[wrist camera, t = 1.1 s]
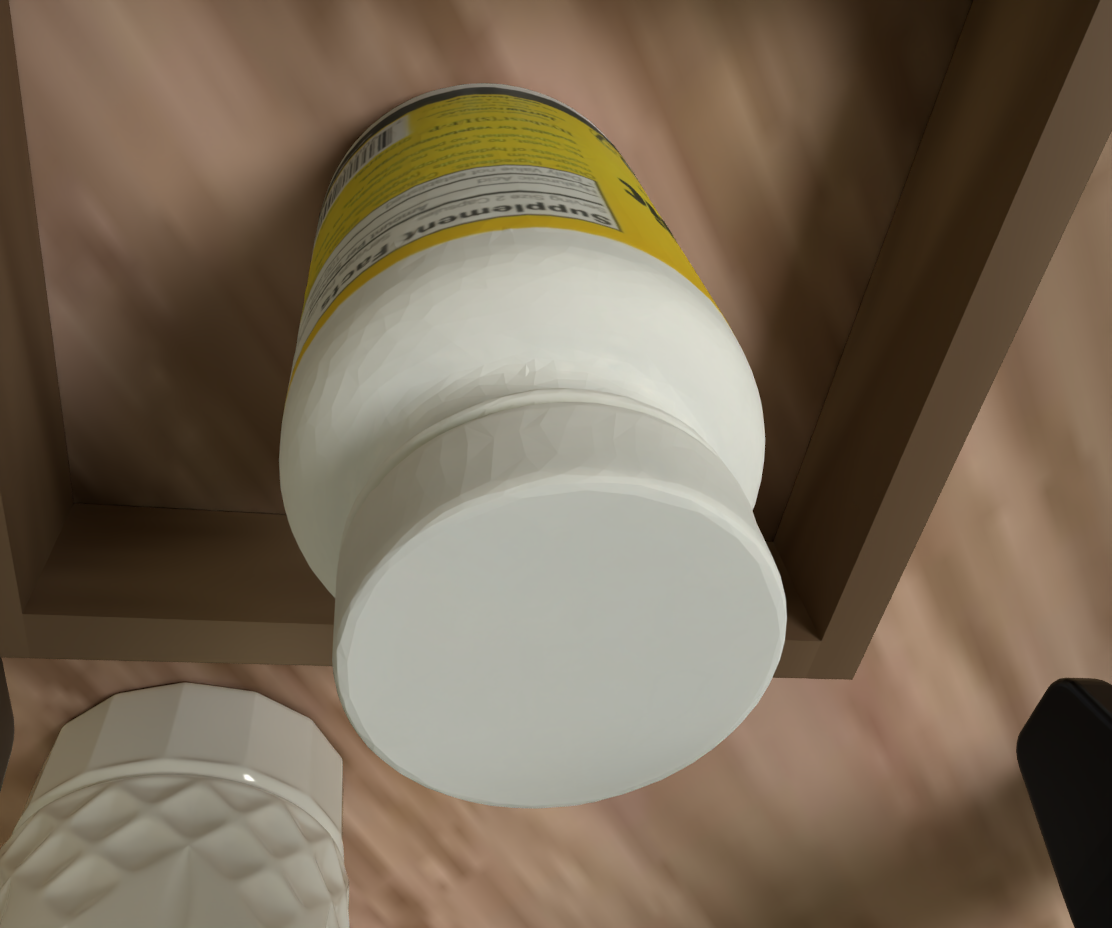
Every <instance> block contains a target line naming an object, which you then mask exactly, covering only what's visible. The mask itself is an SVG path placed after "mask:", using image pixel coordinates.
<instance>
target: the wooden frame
mask: <svg viewBox="0 0 1112 928" xmlns="http://www.w3.org/2000/svg"><path fill="white" fill-rule="evenodd" d="M1111 131H1112V0H973V2H972V5H971V7H970V10H969V13H968V16H967V18H966V21H965V24H964V26H963V29H962V32H961V35H960V37H959V40H958V43H957V45H956V48H955V51H954V54H953V56H952V59H951V62H950V64H949V67H948V70H947V72H946V75H945V78H944V81H943V83H942V86H941V89H940V91H939V94H938V97H937V100H936V102H935V105H934V108H933V110H932V113H931V116H930V119H929V121H928V124H927V127H926V129H925V132H924V135H923V138H922V140H921V143H920V146H919V148H918V151H917V154H916V156H915V159H914V162H913V165H912V167H911V170H910V173H909V175H908V178H907V181H906V184H905V186H904V189H903V192H902V194H901V197H900V200H899V203H898V205H897V208H896V211H895V213H894V216H893V219H892V221H891V224H890V227H889V230H888V232H887V235H886V238H885V240H884V243H883V246H882V249H881V251H880V254H879V257H878V259H877V262H876V265H875V268H874V270H873V273H872V276H871V278H870V281H869V284H868V286H867V289H866V292H865V295H864V297H863V300H862V303H861V305H860V308H859V311H858V314H857V316H856V319H855V322H854V324H853V327H852V330H851V333H850V335H849V338H848V341H847V343H846V346H845V349H844V352H843V354H842V357H841V360H840V362H839V365H838V368H837V370H836V373H835V376H834V379H833V381H832V384H831V387H830V389H829V392H828V395H827V398H826V400H825V403H824V406H823V408H822V411H821V414H820V417H819V419H818V422H817V425H816V427H815V430H814V433H813V435H812V438H811V441H810V444H809V446H808V449H807V452H806V454H805V457H804V460H803V463H802V465H801V468H800V471H799V473H798V476H797V479H796V482H795V484H794V487H793V490H792V492H791V495H790V498H789V501H788V503H787V506H786V509H785V511H784V514H783V517H782V519H781V522H780V525H779V528H778V530H777V533H776V536H775V538H774V541H773V542H767V541H765V542H766V544H767V546H768V549H769V551H770V553H771V555H772V557H773V559H774V562H775V564H776V566H777V569H778V571H779V573H780V576H781V580H782V584H783V589H784V593H785V598H786V612H787V622H786V634H785V642H784V646H783V650H782V654H781V658H780V661H779V663H778V665H777V668H776V670H775V673H774V675H773V678H811V679H850V680H852V679H853V677H854V675H855V673H856V671H857V669H858V667H859V664H860V662H861V660H862V658H863V656H864V654H865V652H866V650H867V647H868V645H869V643H870V641H871V639H872V637H873V635H874V633H875V631H876V628H877V626H878V624H879V622H880V620H881V618H882V616H883V614H884V612H885V609H886V607H887V605H888V603H889V601H890V599H891V597H892V595H893V592H894V590H895V588H896V586H897V584H898V582H899V580H900V578H901V576H902V573H903V571H904V569H905V567H906V565H907V563H908V561H909V559H910V557H911V554H912V552H913V550H914V548H915V546H916V544H917V542H918V540H919V537H920V535H921V533H922V531H923V529H924V527H925V525H926V523H927V521H928V518H929V516H930V514H931V512H932V510H933V508H934V506H935V504H936V502H937V499H938V497H939V495H940V493H941V491H942V489H943V487H944V485H945V482H946V480H947V478H948V476H949V474H950V472H951V470H952V468H953V466H954V463H955V461H956V459H957V457H958V455H959V453H960V451H961V449H962V447H963V444H964V442H965V440H966V438H967V436H968V434H969V432H970V430H971V427H972V425H973V423H974V421H975V419H976V417H977V415H978V413H979V411H980V408H981V406H982V404H983V402H984V400H985V398H986V396H987V394H988V392H989V389H990V387H991V385H992V383H993V381H994V379H995V377H996V375H997V372H998V370H999V368H1000V366H1001V364H1002V362H1003V360H1004V358H1005V356H1006V353H1007V351H1008V349H1009V347H1010V345H1011V343H1012V341H1013V339H1014V337H1015V334H1016V332H1017V330H1018V328H1019V326H1020V324H1021V322H1022V320H1023V317H1024V315H1025V313H1026V311H1027V309H1028V307H1029V305H1030V303H1031V301H1032V298H1033V296H1034V294H1035V292H1036V290H1037V288H1038V286H1039V284H1040V282H1041V279H1042V277H1043V275H1044V273H1045V271H1046V269H1047V267H1048V265H1049V262H1050V260H1051V258H1052V256H1053V254H1054V252H1055V250H1056V248H1057V246H1058V243H1059V241H1060V239H1061V237H1062V235H1063V233H1064V231H1065V229H1066V227H1067V224H1068V222H1069V220H1070V218H1071V216H1072V214H1073V212H1074V210H1075V207H1076V205H1077V203H1078V201H1079V199H1080V197H1081V195H1082V193H1083V191H1084V188H1085V186H1086V184H1087V182H1088V180H1089V178H1090V176H1091V174H1092V172H1093V169H1094V167H1095V165H1096V163H1097V161H1098V159H1099V157H1100V155H1101V152H1102V150H1103V148H1104V146H1105V144H1106V142H1107V140H1108V138H1109V136H1110V133H1111ZM334 613H335V598H334V597H333V595H332V594H331V593H330V592H329V591H328V590H327V589H326V587H325V586H324V585H323V584H322V582H321V581H320V580H319V578H318V577H317V576H316V575H315V573H314V572H313V571H312V569H311V568H310V566H309V565H308V563H307V561H306V559H305V557H304V555H303V554H302V552H301V550H300V548H299V546H298V544H297V542H296V539H295V537H294V535H293V533H292V530H291V527H290V525H289V522H288V518H287V515H278V514H260V513H242V512H224V511H206V510H187V509H169V508H151V507H133V506H115V505H97V504H79V503H74V501H73V494H72V486H71V478H70V470H69V463H68V455H67V447H66V440H65V432H64V424H63V416H62V409H61V401H60V393H59V386H58V378H57V370H56V362H55V355H54V347H53V339H52V332H51V324H50V316H49V308H48V301H47V293H46V285H45V277H44V270H43V262H42V254H41V247H40V239H39V231H38V223H37V216H36V208H35V200H34V193H33V185H32V177H31V169H30V162H29V154H28V146H27V139H26V131H25V123H24V115H23V108H22V100H21V92H20V85H19V77H18V69H17V61H16V54H15V46H14V38H13V31H12V23H11V15H10V7H9V0H0V657H6V658H45V659H83V660H121V661H160V662H198V663H236V664H275V665H313V666H333V663H332V652H333V630H334Z"/></svg>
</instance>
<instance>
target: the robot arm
mask: <svg viewBox="0 0 1112 928" xmlns="http://www.w3.org/2000/svg"><path fill="white" fill-rule="evenodd" d="M13 740H14V717H13V712H12V707H11V702H10V697H9V692H8V687H7V682H6V677H5V672H4V668H3V663H2V659H1V657H0V791H1V788H2V784H3V780H4V777H5V773H6V769H7V766H8V762H9V758H10V755H11V750H12V746H13ZM1016 753H1017V760H1018V764H1019V767H1020V770H1021V773H1022V776H1023V779H1024V782H1025V785H1026V788H1027V791H1028V794H1029V797H1030V800H1031V803H1032V806H1033V809H1034V812H1035V815H1036V818H1037V821H1038V824H1039V827H1040V830H1041V833H1042V836H1043V839H1044V842H1045V845H1046V848H1047V851H1048V854H1049V856H1050V859H1051V862H1052V865H1053V868H1054V871H1055V874H1056V877H1057V880H1058V883H1059V886H1060V889H1061V892H1062V895H1063V898H1064V900H1065V903H1066V906H1067V909H1068V912H1069V914H1070V917H1071V920H1072V922H1073V925H1074V927H1075V928H1112V685H1111V684H1109V683H1107V682H1105V681H1103V680H1099V679H1089V678H1061V679H1058V680H1057V681H1055V682H1053V683H1052V684H1051V685H1050V686H1049V688H1048V689H1047V691H1046V692H1045V694H1044V695H1043V697H1042V698H1041V700H1040V702H1039V703H1038V705H1037V706H1036V708H1035V710H1034V711H1033V713H1032V714H1031V716H1030V718H1029V719H1028V721H1027V722H1026V724H1025V726H1024V727H1023V729H1022V730H1021V732H1020V734H1019V736H1018V740H1017V746H1016Z"/></svg>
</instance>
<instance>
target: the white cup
mask: <svg viewBox="0 0 1112 928" xmlns="http://www.w3.org/2000/svg"><path fill="white" fill-rule="evenodd" d="M348 906H349V878H348V875H347V872H346V869H345V866H344V848H343V762H342V758H341V756H340V755H339V754H338V753H337V751H336V750H335V749H334V747H333V746H332V745H331V744H330V742H329V741H328V740H327V738H326V737H325V736H324V735H323V733H322V732H321V731H320V730H319V728H318V727H317V726H316V724H315V723H314V722H313V721H312V720H311V719H310V718H308V717H306V716H304V715H302V714H300V713H298V712H296V711H294V710H292V709H290V708H288V707H286V706H284V705H282V704H280V703H278V702H276V701H274V700H272V699H270V698H268V697H266V696H263V695H261V694H259V693H257V692H254V691H248V690H241V689H234V688H227V687H220V686H212V685H204V684H196V683H189V682H183V683H176V684H170V685H164V686H158V687H152V688H146V689H141V690H135V691H129V692H124V693H118V694H115V695H113V696H112V697H110V698H108V699H107V700H105V701H103V702H102V703H100V704H98V705H97V706H95V707H93V708H92V709H90V710H88V711H87V712H85V713H83V714H82V715H80V716H78V717H77V718H75V719H73V720H72V721H70V722H68V723H67V724H65V725H64V726H63V727H62V729H61V731H60V733H59V735H58V737H57V739H56V741H55V743H54V745H53V747H52V749H51V751H50V752H49V754H48V756H47V758H46V760H45V762H44V764H43V766H42V768H41V770H40V772H39V775H38V777H37V779H36V782H35V784H34V786H33V789H32V791H31V793H30V796H29V798H28V800H27V803H26V805H25V808H24V810H23V812H22V815H21V817H20V819H19V821H18V823H17V824H16V826H15V828H14V830H13V833H12V835H11V837H10V838H9V839H8V840H7V842H6V843H5V844H4V845H3V846H2V847H1V848H0V928H350V925H349V913H348Z"/></svg>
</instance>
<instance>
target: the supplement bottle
mask: <svg viewBox="0 0 1112 928" xmlns="http://www.w3.org/2000/svg"><path fill="white" fill-rule="evenodd" d="M764 453H765V429H764V419H763V411H762V404H761V400H760V396H759V392H758V388H757V385H756V382H755V379H754V376H753V373H752V370H751V368H750V366H749V363H748V361H747V359H746V357H745V354H744V352H743V350H742V348H741V347H740V345H739V343H738V341H737V339H736V337H735V335H734V333H733V331H732V330H731V328H730V326H729V324H728V322H727V321H726V319H725V317H724V316H723V314H722V313H721V311H720V310H719V308H718V307H717V305H716V303H715V302H714V300H713V299H712V297H711V296H710V294H709V293H708V291H707V289H706V288H705V286H704V285H703V283H702V282H701V280H700V278H699V277H698V275H697V274H696V272H695V270H694V269H693V267H692V266H691V264H690V262H689V261H688V259H687V258H686V256H685V255H684V253H683V251H682V250H681V248H680V247H679V245H678V244H677V242H676V240H675V239H674V237H673V235H672V233H671V232H670V230H669V229H668V227H667V225H666V224H665V222H664V221H663V220H662V218H661V217H660V215H659V214H658V212H657V210H656V209H655V207H654V206H653V204H652V203H651V201H650V199H649V198H648V196H647V194H646V193H645V191H644V189H643V188H642V186H641V184H640V183H639V181H638V179H637V178H636V176H635V174H634V173H633V171H632V170H631V168H630V167H629V166H628V164H627V163H626V161H625V160H624V158H623V157H622V156H621V154H620V153H619V152H618V150H617V149H616V148H615V146H614V145H613V144H612V143H611V142H610V141H609V140H608V138H607V137H606V136H605V135H604V134H603V133H602V132H601V131H600V130H599V129H598V128H597V127H596V126H595V125H594V124H593V123H591V122H590V121H589V120H588V119H586V118H585V117H584V116H582V115H581V114H580V113H578V112H577V111H575V110H574V109H573V108H571V107H569V106H567V105H565V104H564V103H562V102H560V101H558V100H556V99H553V98H551V97H549V96H547V95H544V94H541V93H538V92H535V91H532V90H528V89H525V88H521V87H515V86H509V85H504V84H488V83H477V84H463V85H458V86H452V87H447V88H442V89H438V90H434V91H431V92H428V93H424V94H422V95H419V96H417V97H415V98H412V99H410V100H408V101H406V102H405V103H403V104H401V105H399V106H397V107H395V108H394V109H392V110H391V111H389V112H388V113H386V114H385V115H383V116H382V117H381V118H380V119H378V120H377V121H376V122H375V123H373V124H372V125H371V126H370V127H369V128H368V129H367V130H366V131H365V132H364V133H363V134H362V135H361V136H360V137H359V138H358V139H357V140H356V141H355V143H354V144H353V145H352V146H351V148H350V149H349V150H348V152H347V153H346V155H345V156H344V158H343V160H342V161H341V163H340V164H339V166H338V168H337V170H336V172H335V174H334V175H333V178H332V180H331V183H330V185H329V187H328V190H327V193H326V196H325V199H324V202H323V205H322V208H321V212H320V215H319V221H318V226H317V231H316V236H315V241H314V247H313V253H312V259H311V264H310V268H309V276H308V283H307V287H306V291H305V300H304V305H303V311H302V315H301V319H300V326H299V332H298V338H297V345H296V351H295V355H294V359H293V365H292V371H291V376H290V381H289V386H288V391H287V396H286V401H285V407H284V413H283V419H282V428H281V440H280V453H279V470H280V487H281V493H282V498H283V503H284V508H285V511H286V515H287V518H288V522H289V525H290V527H291V530H292V533H293V535H294V537H295V539H296V542H297V544H298V546H299V548H300V550H301V552H302V554H303V555H304V557H305V559H306V561H307V563H308V565H309V566H310V568H311V569H312V571H313V572H314V573H315V575H316V576H317V577H318V578H319V580H320V581H321V582H322V584H323V585H324V586H325V587H326V589H327V590H328V591H329V592H330V593H331V594H332V595H333V597H334V598H335V613H334V630H333V652H332V663H333V674H334V679H335V684H336V688H337V693H338V696H339V699H340V701H341V704H342V707H343V709H344V712H345V713H346V715H347V717H348V719H349V721H350V723H351V725H352V726H353V728H354V729H355V731H356V732H357V734H358V735H359V736H360V737H361V739H362V740H363V741H364V742H365V744H366V745H367V746H368V747H369V748H370V749H371V750H372V751H373V752H374V753H375V754H376V755H377V756H378V757H380V758H381V759H382V760H383V761H385V762H386V763H387V764H388V765H390V766H391V767H392V768H394V769H395V770H396V771H398V772H399V773H400V774H402V775H404V776H406V777H408V778H409V779H411V780H413V781H415V782H417V783H419V784H421V785H423V786H425V787H426V788H429V789H432V790H435V791H437V792H440V793H443V794H446V795H448V796H452V797H455V798H459V799H462V800H466V801H470V802H475V803H480V804H485V805H490V806H500V807H510V808H551V807H565V806H574V805H581V804H585V803H593V802H596V801H600V800H603V799H607V798H610V797H614V796H618V795H622V794H625V793H628V792H631V791H634V790H636V789H639V788H642V787H644V786H647V785H649V784H652V783H654V782H657V781H660V780H662V779H664V778H666V777H668V776H670V775H672V774H674V773H676V772H677V771H679V770H681V769H683V768H685V767H686V766H688V765H690V764H692V763H693V762H695V761H696V760H698V759H699V758H701V757H702V756H703V755H705V754H706V753H708V752H709V751H711V750H712V749H713V748H715V747H716V746H717V745H718V744H719V743H720V742H722V741H723V740H724V739H725V738H726V737H727V736H729V735H730V734H731V733H732V732H733V731H734V730H735V729H736V728H737V727H738V726H739V725H740V724H741V723H742V722H743V720H744V719H745V718H746V717H747V716H748V714H749V713H750V712H751V711H752V710H753V708H754V707H755V706H756V705H757V704H758V702H759V700H760V699H761V697H762V695H763V694H764V692H765V690H766V689H767V687H768V686H769V684H770V682H771V679H772V677H773V675H774V673H775V670H776V668H777V665H778V663H779V661H780V658H781V654H782V650H783V646H784V642H785V634H786V622H787V612H786V598H785V593H784V589H783V584H782V580H781V576H780V573H779V571H778V569H777V566H776V564H775V562H774V559H773V557H772V555H771V553H770V551H769V549H768V546H767V544H766V542H765V540H764V538H763V536H762V534H761V532H760V529H759V527H758V525H757V523H756V520H755V517H754V514H753V508H754V506H755V503H756V499H757V495H758V491H759V487H760V483H761V479H762V472H763V464H764Z"/></svg>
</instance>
